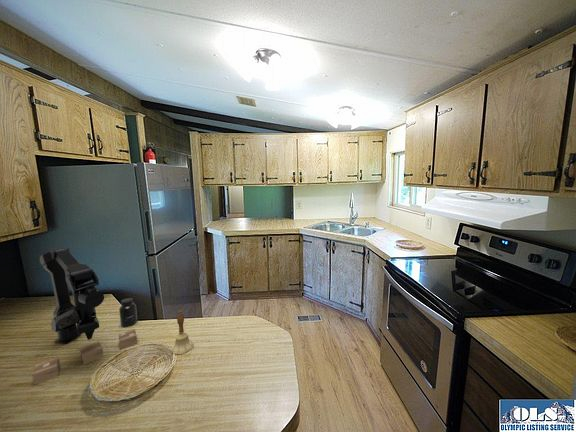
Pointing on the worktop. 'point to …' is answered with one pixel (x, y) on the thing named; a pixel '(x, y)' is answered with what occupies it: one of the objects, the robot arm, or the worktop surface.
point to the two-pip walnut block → (127, 339)
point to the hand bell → (182, 337)
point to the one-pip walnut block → (46, 370)
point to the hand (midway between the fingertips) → (89, 338)
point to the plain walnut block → (91, 352)
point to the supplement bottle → (128, 312)
